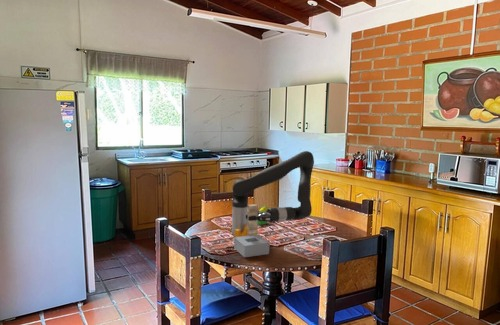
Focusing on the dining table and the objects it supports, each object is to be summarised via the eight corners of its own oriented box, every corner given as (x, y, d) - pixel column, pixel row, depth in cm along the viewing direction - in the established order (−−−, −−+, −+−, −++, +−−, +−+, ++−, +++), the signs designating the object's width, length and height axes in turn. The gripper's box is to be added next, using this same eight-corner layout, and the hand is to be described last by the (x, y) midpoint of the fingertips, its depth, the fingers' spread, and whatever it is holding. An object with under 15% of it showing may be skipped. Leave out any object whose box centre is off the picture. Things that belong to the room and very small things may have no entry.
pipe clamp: (240, 242, 203) (240, 231, 202) (234, 240, 205) (234, 229, 204) (252, 236, 213) (252, 226, 212) (246, 235, 215) (246, 225, 214)
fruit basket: (251, 221, 246) (251, 205, 245) (262, 220, 250) (263, 204, 248) (258, 225, 236) (259, 208, 234) (270, 224, 239) (271, 207, 238)
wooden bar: (247, 234, 188) (247, 204, 186) (254, 233, 190) (255, 204, 188) (249, 236, 186) (249, 205, 184) (257, 235, 187) (257, 205, 186)
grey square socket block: (234, 248, 192) (234, 237, 192) (257, 245, 198) (258, 234, 197) (244, 257, 180) (244, 245, 179) (269, 253, 185) (269, 242, 185)
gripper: (270, 205, 198) (242, 207, 191) (283, 210, 186) (252, 213, 179) (270, 218, 199) (242, 221, 192) (282, 224, 187) (252, 228, 180)
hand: (247, 217), depth 186 cm, fingers closed on wooden bar, 3 cm apart
